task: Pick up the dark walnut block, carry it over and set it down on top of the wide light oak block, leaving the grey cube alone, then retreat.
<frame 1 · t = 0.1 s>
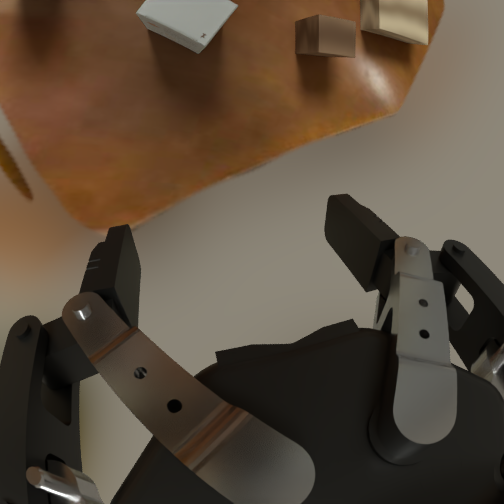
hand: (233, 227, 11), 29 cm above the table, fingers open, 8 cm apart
oak block: (384, 10, 29), on the table
small box: (184, 24, 27), on the table
walnut block: (312, 39, 31), on the table
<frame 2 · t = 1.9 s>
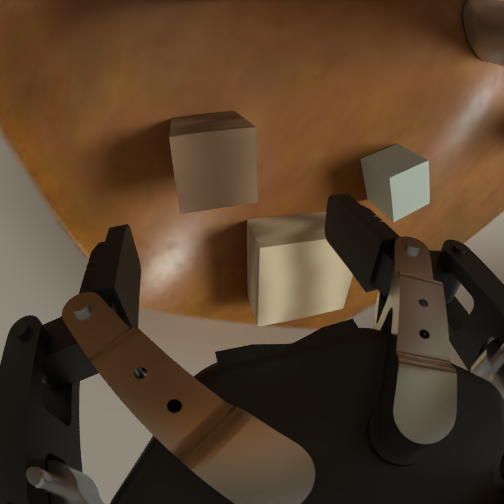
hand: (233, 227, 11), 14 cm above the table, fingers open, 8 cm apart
oak block: (291, 253, 32), on the table
walnut block: (205, 143, 22), on the table
grey cube: (382, 171, 28), on the table
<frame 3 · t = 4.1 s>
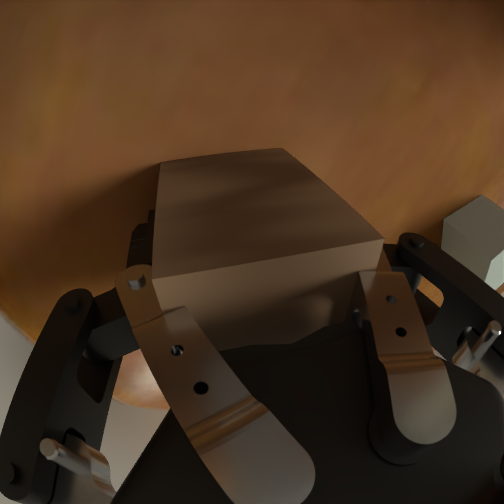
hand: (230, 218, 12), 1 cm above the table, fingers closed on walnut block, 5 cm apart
walnut block: (226, 208, 13), on the table, touching gripper
grey cube: (460, 230, 18), on the table
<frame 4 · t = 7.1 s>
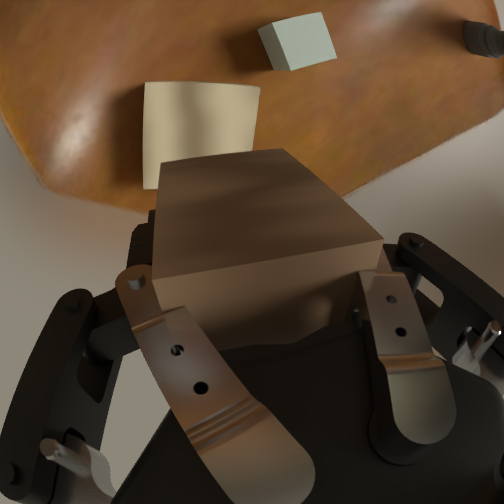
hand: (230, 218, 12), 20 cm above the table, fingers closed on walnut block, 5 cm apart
oak block: (195, 127, 28), on the table
candle holder: (472, 37, 25), on the table
walnut block: (226, 208, 13), point 19 cm above the table, touching gripper
grey cube: (286, 43, 24), on the table
when the fingers open (7 cm above the table, at t = 10.1 s): walnut block drops 2 cm, resting on oak block.
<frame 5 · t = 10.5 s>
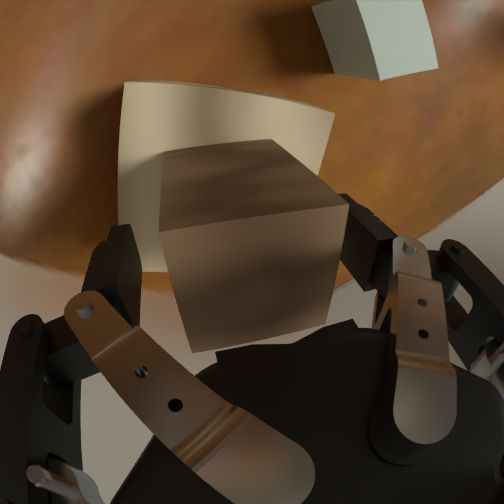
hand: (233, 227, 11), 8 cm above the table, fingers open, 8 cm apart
oak block: (208, 161, 18), on the table, touching walnut block
walnut block: (222, 192, 14), point 5 cm above the table, touching oak block
grey cube: (353, 33, 14), on the table
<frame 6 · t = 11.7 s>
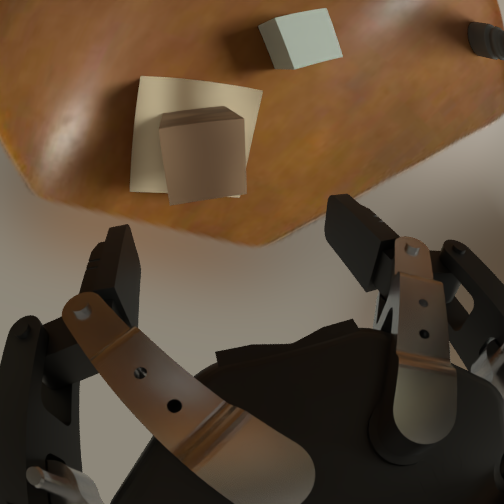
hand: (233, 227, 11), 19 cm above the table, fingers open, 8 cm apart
oak block: (189, 128, 26), on the table
candle holder: (476, 38, 24), on the table
walnut block: (196, 137, 22), point 5 cm above the table
grey cube: (288, 40, 23), on the table
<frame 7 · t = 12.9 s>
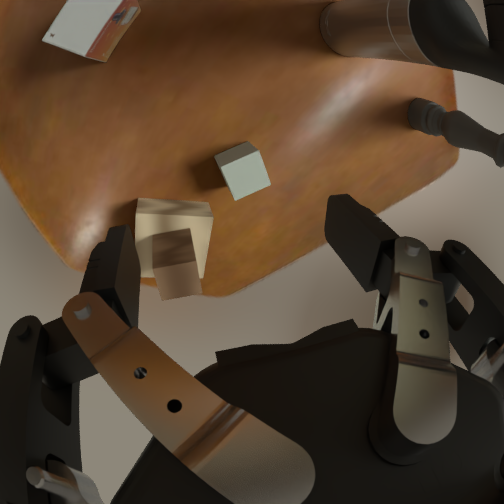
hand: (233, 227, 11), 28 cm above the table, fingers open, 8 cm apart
oak block: (169, 229, 42), on the table, touching walnut block
candle holder: (418, 113, 41), on the table
small box: (106, 28, 23), on the table
walnut block: (174, 247, 38), point 5 cm above the table, touching oak block
grey cube: (237, 163, 39), on the table
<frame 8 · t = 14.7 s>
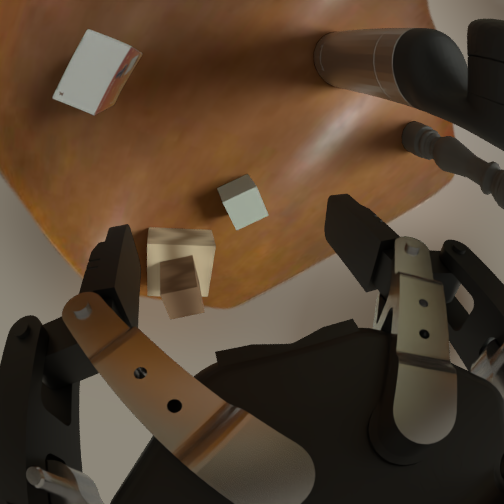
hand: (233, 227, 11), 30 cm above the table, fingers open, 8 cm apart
oak block: (178, 253, 47), on the table, touching walnut block
candle holder: (412, 136, 45), on the table
small box: (111, 71, 28), on the table
walnut block: (179, 271, 43), point 5 cm above the table, touching oak block
grey cube: (238, 194, 44), on the table
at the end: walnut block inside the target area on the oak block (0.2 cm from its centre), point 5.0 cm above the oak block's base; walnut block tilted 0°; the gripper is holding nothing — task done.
